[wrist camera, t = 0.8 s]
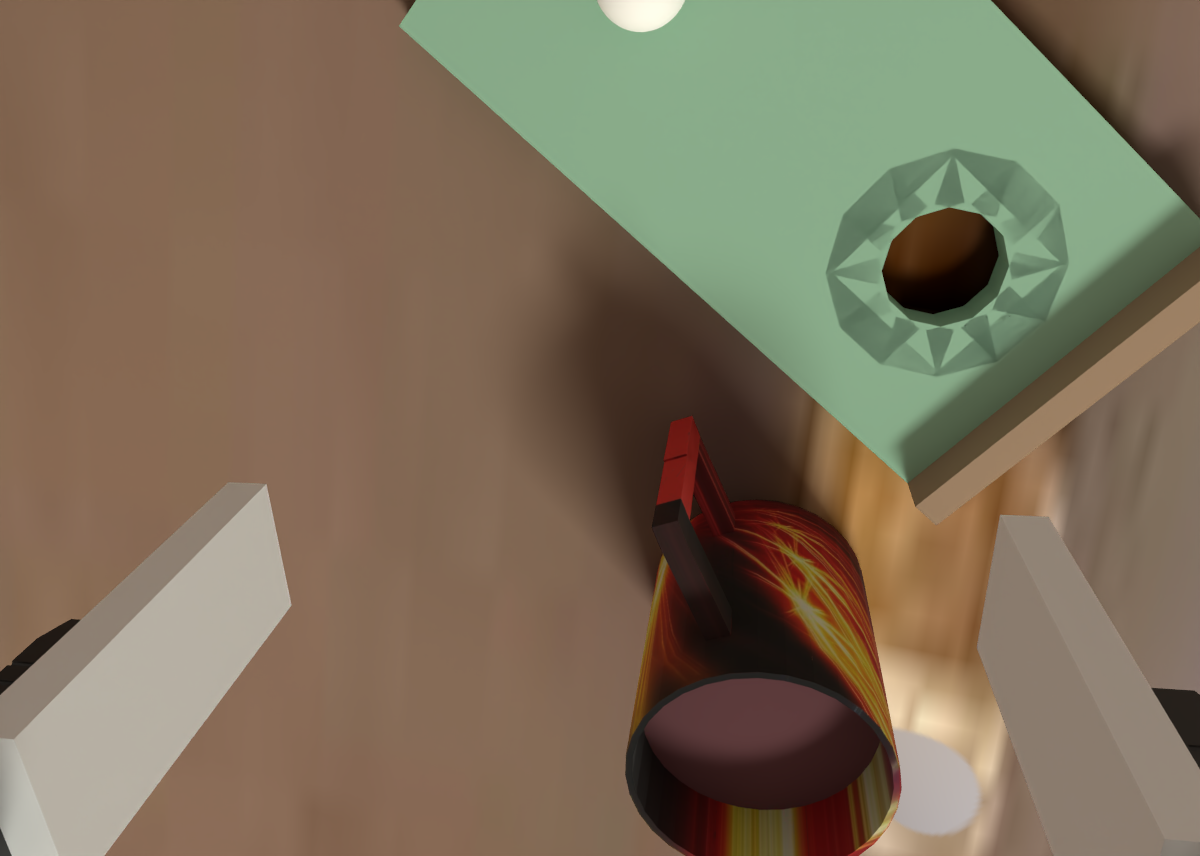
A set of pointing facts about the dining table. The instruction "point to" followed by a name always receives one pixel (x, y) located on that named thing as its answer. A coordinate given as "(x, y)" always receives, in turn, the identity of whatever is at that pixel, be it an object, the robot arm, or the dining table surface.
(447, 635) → the dining table surface
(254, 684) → the dining table surface
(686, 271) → the board with hole
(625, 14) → the ball
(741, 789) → the mug
